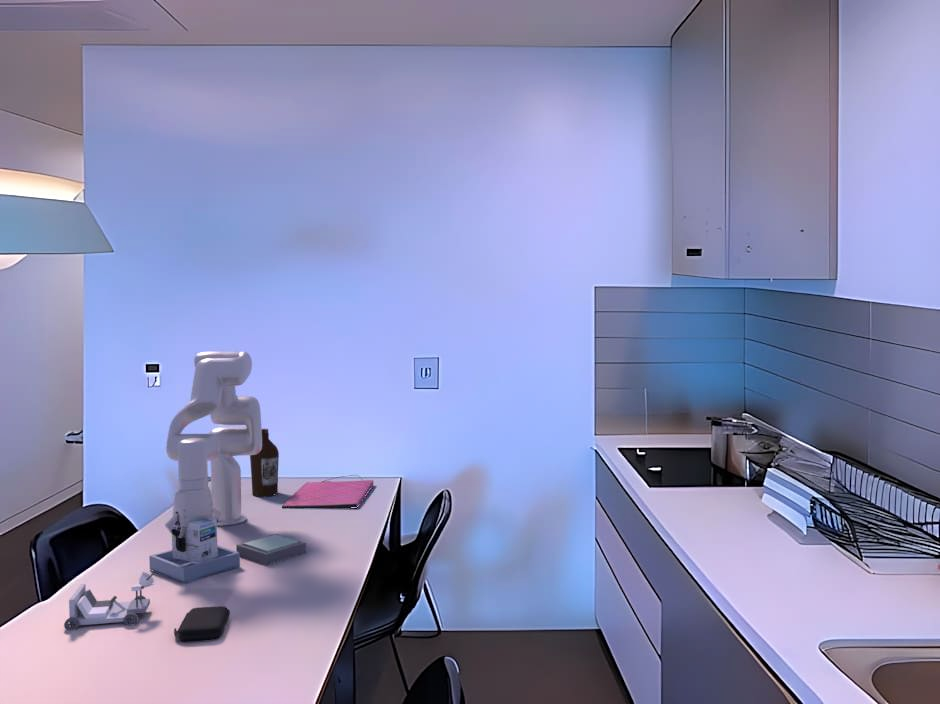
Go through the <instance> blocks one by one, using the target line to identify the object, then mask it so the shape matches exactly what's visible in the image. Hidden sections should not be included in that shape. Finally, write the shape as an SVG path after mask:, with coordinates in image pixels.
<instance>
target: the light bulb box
mask: <svg viewBox="0 0 940 704" xmlns="http://www.w3.org/2000/svg"><path fill="white" fill-rule="evenodd" d="M177 523H179V521H177V522H176V525H178V524H177ZM173 527H174V528H175V529H176V527H177V526H175V525H173ZM180 530H181V528H180ZM183 537H184V538H185V552H180V551H177V549H176V537H175V536H174V535H173V534H172V533H171V545H172V546H171V547H172V548H171V550H172V558H175V559H181V560H186V561H191V562H197V563H201V562H205V561H207V560H210V559H212V558H215V557H218V548H217V545H218V526H217V519H212V518H208V519H204V520H199V521H194V522H191V523H189V525H188V528H186V531H185V533H184V535H183Z"/></svg>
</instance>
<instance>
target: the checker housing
mask: <svg viewBox="0 0 940 704" xmlns="http://www.w3.org/2000/svg"><path fill="white" fill-rule="evenodd" d="M272 535H278V536H281V537H285V538H288V539H291V540H295V541H298V543H299V544H295V545H292V546H289V547H285V548H282V549H279V550H275V551H272V552H269V553H266V552H262V551H259V550H256V549H253V548H250V547H247V546H244V543H247V542H251V541H254V540H258V539H261V538H265V537H268V536H272ZM235 545H236V546H235V547H236V548H235V549H236V552H239V553H240V557H241V556H242V557H241V558H245V559H247V558H248V559H247V560H250V561H253V562H257V563H259V564H262V565H265V566H268V565H271V563H272V564H275V563H278V562H281V561H284V560H287V559H290V558H289V557H291V558H294V557H297V556H300V555H303V554H306V553H307V543H306V542H305V541H302V540H298V539H296V538H292V537H288V536H284V535H283V534H278V533H273V534H270V535H267V536H263V537H260V538H257V539H252V540H249V541H245V542H242V543H237V544H235ZM305 552H306V553H305ZM299 554H300V555H299ZM296 555H297V556H296ZM293 556H294V557H293ZM280 560H281V561H280ZM277 561H278V562H277ZM274 562H275V563H274Z"/></svg>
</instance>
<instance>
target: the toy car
mask: <svg viewBox="0 0 940 704" xmlns="http://www.w3.org/2000/svg"><path fill="white" fill-rule="evenodd" d="M153 575H154V572H153V573H151V574H149V573H147V572H145V571H143V572H141V574H140V577H139V580H138V584H134V585H133V584H132V585H131V592H135V597H134V599H131V601H130V600H128V601H117V599H118V598H117V596H116V595H114V596H113V597H112V598H110V600H109V599H108V600H106V599H105V600H97V598H96V596H94V594H93V592H92V590H91V589H86V587H87V586H86V585H87V584H86V583H82V584H80V585H79V586H78V587H77V588H76V590H75V592H74V593H73V594H72V595H71V597H70V598H69V599H68V608H69V609H68V610H69V612H68V613H69V617H68V618H67V619H66V620H65V622H64V625H63V627H64V630H65V631H73V630H78V628H79V627H80V626H86V625H87V626H88V625H99V624H101V625H102V624H110V623H111V624H112V623H123V624H124V625H125V626H135V625H137V623H138V621H139V616H138V615H137V614H140V613H141V614H142V613H143V614H144V613H146V612H147V610H148V608H149V607H150V604H151V599H150V598H146V597H145V596H144V595H143V594H142V591H143V590H144V589H145V588H148V587H151V586H153V585H156V581H155V579H154V578H153V577H152V576H153Z"/></svg>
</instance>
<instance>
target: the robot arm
mask: <svg viewBox="0 0 940 704" xmlns="http://www.w3.org/2000/svg"><path fill="white" fill-rule="evenodd" d="M250 355H251V354H249V353H248V352H246V351H238V350H237V351H235V350H234V351H232V350H231V351H222V350H221V351H220V350H219V351H218V350H215V351H202V352H198V353H196V355H195V356H194V359H193V363H194V367H195V368H194V375H193V380H192V387H191V392H190V393H191V394H190V400H189V402H188V403H186V404H185V405H184V406H183V407H182V408H181V409H180V410H179V411H178V412H177V413H176V414H175V415H174V417H173V419H171V422H170V424H169V427H168V428H169V429H168V433H167V440H166V446H165V447H166V448H165V449H166V454H167V457H168V458H169V459H170V460H171V461H176V462H177V465H178V466H177V468H178V469H177V470H178V471H177V472H178V474H177V475H178V489H177V490H175V493H174V498H173V506H172V508H173V509H172V517H171V518H170V519H169V520H168V521H167V522H166V523H165V525H164V526H165V528H166V529H167V531H168V532H169V533H170V534H171V535H172V534H173V535H174V536H175V537H176V549H177V551H180V552H185V538H184V537H183V535H184V533H185V531H186V528H188V525H189V523H191V522H194V521H199V520H204V519H208V518H212V519H217V527H218V526H222V527H223V526H224V527H225V526H234V525H239V524H241V523H243V522H245V521H246V520H247V515H246V514H244V513H242V477H241V476H242V474H241V473H242V470H241V466H240V464H239V463H238V461H237V460H236V458H234V457H236V456H239V457H240V456H250V455H256V454H258V453H259V452H260V451H261V448H262V429H263V428H262V415H261V414H262V413H261V405H260V402H259V400H258V398H256V397H255V396H250V395H247V396H246V395H245V396H244V395H242V396H241V395H240V396H239V395H237V393H236V391H237V390H236V387H237V386H242V385H243V384H245V382H246V381H247V380H248V378H249V376H251V372H252V368H253V362H252V361H253V360H252V357H251V356H250ZM209 415H210V419H211V421H212V424H214V425H218V426H220V427H216V428H214V429H211V430H210V431H209V433H182V432H183V431H184V429H185V428H186V427H187V426H188V425H190V424H191V423H194V422H195V421H198V420H200V419H203V418H205V417H207V416H209ZM208 461H210V476H208V475H209V474H208V471H209V469H208ZM209 482H210V486H211V487H210V486H209ZM177 521H179V523H177V524H178V525H176V522H177ZM173 525H175V526H177V527H176V529H175V528H174V527H173ZM180 528H181V530H180Z"/></svg>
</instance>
